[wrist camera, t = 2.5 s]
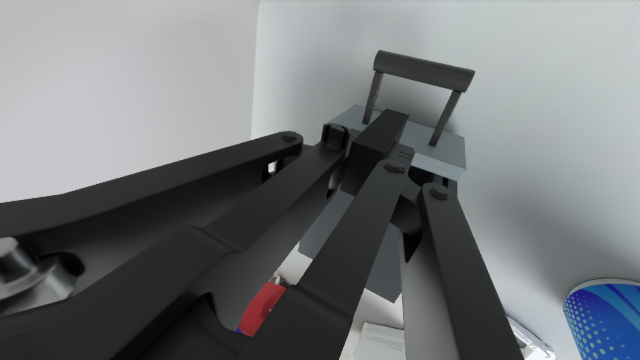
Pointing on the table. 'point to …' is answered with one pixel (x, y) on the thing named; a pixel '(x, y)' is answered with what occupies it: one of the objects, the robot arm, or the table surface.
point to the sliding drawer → (428, 143)
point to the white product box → (380, 343)
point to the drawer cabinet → (387, 261)
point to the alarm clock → (260, 307)
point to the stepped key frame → (531, 344)
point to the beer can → (605, 319)
